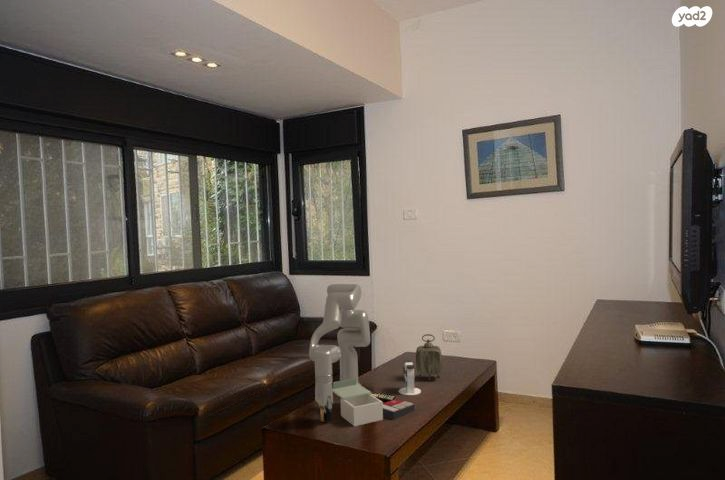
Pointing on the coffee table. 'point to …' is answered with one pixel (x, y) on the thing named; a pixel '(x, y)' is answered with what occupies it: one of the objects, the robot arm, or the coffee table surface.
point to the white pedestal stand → (409, 379)
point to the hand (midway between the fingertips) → (325, 418)
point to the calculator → (397, 408)
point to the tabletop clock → (428, 359)
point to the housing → (362, 409)
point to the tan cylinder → (322, 413)
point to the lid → (348, 389)
